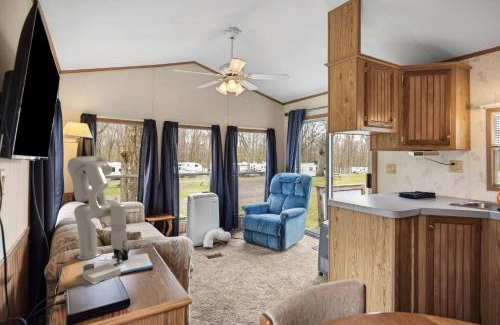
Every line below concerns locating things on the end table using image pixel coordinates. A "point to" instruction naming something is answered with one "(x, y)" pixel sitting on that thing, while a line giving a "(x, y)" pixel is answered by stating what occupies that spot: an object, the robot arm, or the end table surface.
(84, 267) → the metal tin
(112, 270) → the white slab
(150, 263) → the end table surface
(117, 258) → the eagle figurine
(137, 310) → the end table surface
